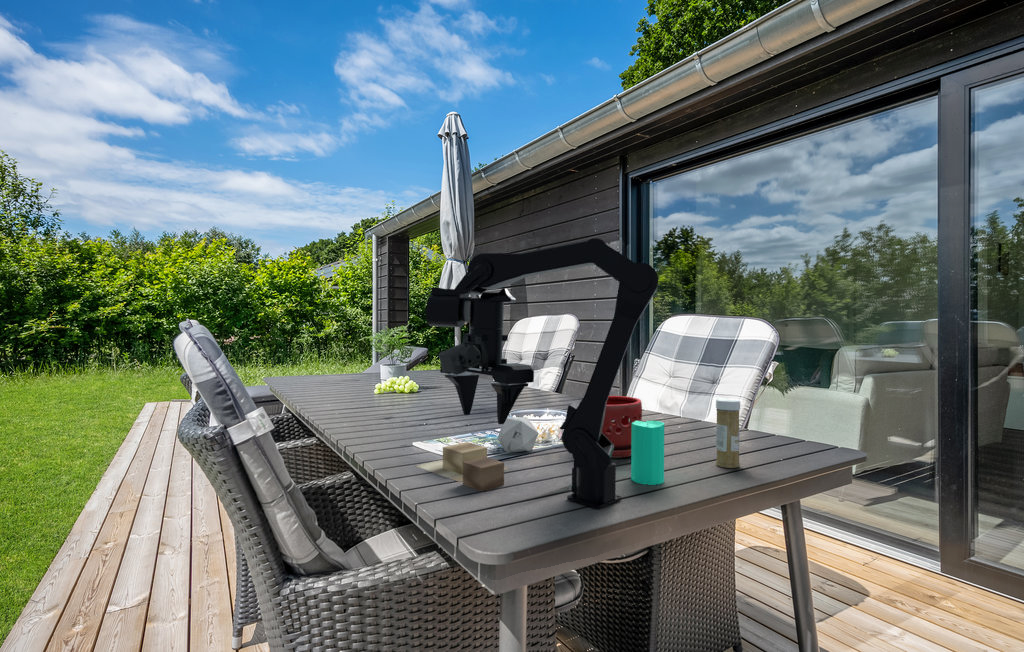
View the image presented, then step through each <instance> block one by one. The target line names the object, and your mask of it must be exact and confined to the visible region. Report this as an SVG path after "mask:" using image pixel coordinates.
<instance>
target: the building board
mask: <svg viewBox="0 0 1024 652" xmlns="http://www.w3.org/2000/svg"><path fill="white" fill-rule="evenodd" d="M415 467H417V468H418V469H422V470H425V471H427V472H430V473H433V474H435V475H439V476H441V477H444V478H447V479H450V480H453V481H456V482H458V483H463V475H462V474H459V473H456V472H453V471H450V470H447V469H444V468H443V458H442V459H438V460H434V461H430V462H425V463H421V464H420V463H419V464H416V465H415ZM507 470H510V468H509V467H505V466H504V471H507Z"/></svg>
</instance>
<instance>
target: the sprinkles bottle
mask: <svg viewBox="0 0 1024 652" xmlns="http://www.w3.org/2000/svg"><path fill="white" fill-rule="evenodd" d="M715 408H716V410H715V411H716V431H715V433H716V434H715V435H716V440H715V443H716V446H715V447H716V460H715V465H717V466H718V467H721V468H725V469H737V468H739V467H740V465H741V463H740V410H741V401H740V399H735V398H728V397H725V398H724V397H723V398H722V397H721V398H716V400H715Z"/></svg>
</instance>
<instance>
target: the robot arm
mask: <svg viewBox="0 0 1024 652" xmlns="http://www.w3.org/2000/svg"><path fill="white" fill-rule="evenodd" d="M588 266H596V267H598V268H599V269H600V270H602V271H603V272H604V273H606V274H607V275H608V276H610V277H611V278H612V279H614V280H615V281H617V282H618V283H619V284H618V289H617V294H616V302H615V308H614V315H613V318H612V321H611V324H610V326H609V329H608V332H607V334H606V337H605V339H604V343H603V346H601V347H602V348H601V351H600V353H599V356H598V359H597V362H596V365H595V366H594V370H593V372H592V375H591V377H590V380H589V383H588V386H587V388H586V391H585V392H584V393H585V394H584V396H583V398H582V399H581V401H580V402H578V401H577V400H575V399H574V400H572V401H571V403H570V404H568V406H567V411H566V416H565V420H564V422H563V423H562V424H561V426H560V427H559V429H560V430H562V434H561V442H562V444H563V447H564V448H565V449H566V451H567V452H568V453H570V454H572V459H573V466H572V468H571V494H568V495H567V496H566V499H567V500H569V501H573V502H576V503H578V504H581V505H584V506H588V507H591V508H594V509H602V508H604V507H606V506H610V505H611V504H615V503H617V502H619V501H621V500H622V496H621V495H618V494H616V486H617V485H616V482H617V481H616V479H617V478H616V477H617V475H616V474H617V473H616V472H617V468H616V467H617V465H616V463H614V462H612V461H611V459H612V458H611V456H612V453H613V449H614V444H613V443H612V442H611V441H610V440H609V439H608V438H607V437H606V436H605V435H604V434H603V433H602V428H603V423H604V417H605V411H606V404H607V400H608V397H609V396H610V395H611V391H612V388H613V386H614V383H615V381H616V378H617V376H618V373H619V370H620V368H621V365H622V363H623V359H624V356H625V354H626V352H627V349H628V346H629V343H630V341H631V338H632V336H633V333H634V330H635V327H636V325H637V324H638V321H639V320H640V318H641V317H642V315H643V314H644V312H645V311H646V309H647V307H648V305H649V304H650V302H651V300H652V298H653V297H654V296H655V294H656V292H657V290H658V285H659V275H658V273H657V271H656V270H655V268H654V267H653V266H652V265H650V264H648V263H645V262H642V261H639V262H638V261H637V262H634V261H632V260H631V259H629V257H627V256H625V255H624V254H622V253H621V252H619V251H617V250H615V249H614V248H613V247H611V246H610V245H608V244H607V243H606V242H605V240H603V239H601V238H598V237H592V238H590V239H588V240H585V241H579V242H574V243H570V244H565V245H557V246H553V247H549V248H548V247H547V248H542V249H538V250H533V251H527V252H523V253H507V252H506V253H504V252H487V253H485V252H484V253H478V254H476V255H474V256H473V257H472V258H471V260H470V261H469V262H468V265H467V272H466V273H465V274H464V276H463V277H462V278H461V279H460V281H459V282H458V283H457V285H456V286H455V288H443V287H434V286H433V287H432V288H431V293H430V295H429V296H428V299H427V301H426V305H424V306H425V308H424V309H425V310H424V314H425V315H424V316H425V321H426V323H427V325H428V326H430V327H441V328H442V327H444V328H448V327H449V328H463V326H464V325H465V324H466V323H468V322H469V332H468V333H463V336H462V342H461V343H459V344H457V345H454V346H452V347H450V348H448V349H445V350H444V351H441V352H439V353H438V357H439V362H440V366H439V367H440V368H439V369H440V371H439V372H440V373H443V374H444V377H445V378H446V379H448V380H449V381H450V382H451V383H452V384H453V385H454V387H455V389H456V392H457V396H458V399H459V402H460V406H461V409H462V413H463V415H464V416H470V414H471V413H472V409H473V404H474V401H475V400H474V399H475V397H476V396H475V395H476V390H477V386H478V383H479V376H480V375H485V376H491V378H492V380H493V381H494V383H490V385H491V386H492V388H493V390H494V391H495V393H496V417H497V423H498V425H502V424H504V423H505V421H506V419H507V418H509V415H510V413H511V411H512V409H513V407H514V405H515V403H516V402H517V400H518V398H519V397H520V395H521V393H522V391H523V390H524V388H527V387H529V383H534V382H535V370H534V368H533V367H532V365H531V364H525V363H517V362H516V363H514V362H513V363H511V362H510V363H508V359H507V358H504V357H503V343H504V342H508V340H509V335H508V334H504V311H505V310H504V309H505V308H504V305H505V303H510V304H511V303H513V304H514V303H516V302H517V299H516V298H515V297H514V296H513V295H512V294H511V293H510V292H509V289H508V288H504V287H506V286H509V285H511V284H514V283H517V282H518V281H520V280H522V279H525V278H528V277H532V276H538V275H544V274H549V273H554V272H560V271H567V270H571V269H578V268H581V267H588ZM499 289H500V290H499ZM488 290H499V292H492V291H490V292H488ZM470 295H471V296H475V295H476V296H480V297H470Z"/></svg>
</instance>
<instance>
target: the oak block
mask: <svg viewBox="0 0 1024 652" xmlns="http://www.w3.org/2000/svg"><path fill="white" fill-rule="evenodd" d="M482 457H487V458H488V447H487V446H483V445H479V444H476V443H472V442H467V441H466V442H461V443H456V444H452V445H447V446H442V459H443V468H444V469H447V470H450V471H453V472H456V473H459V474H462V475H463V462H465V461H470V460H474V459H478V458H482Z"/></svg>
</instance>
